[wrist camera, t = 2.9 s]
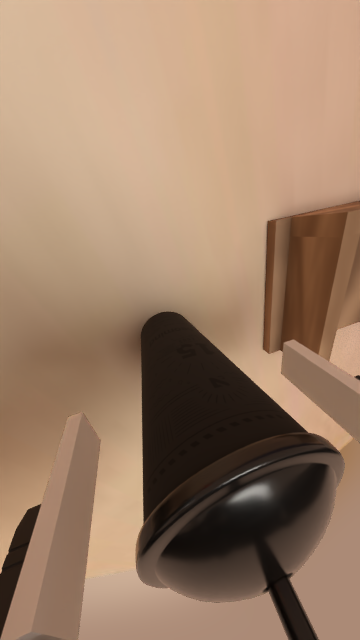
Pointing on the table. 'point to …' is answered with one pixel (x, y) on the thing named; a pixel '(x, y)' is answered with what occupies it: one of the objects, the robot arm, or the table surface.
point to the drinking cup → (226, 479)
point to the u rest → (312, 278)
